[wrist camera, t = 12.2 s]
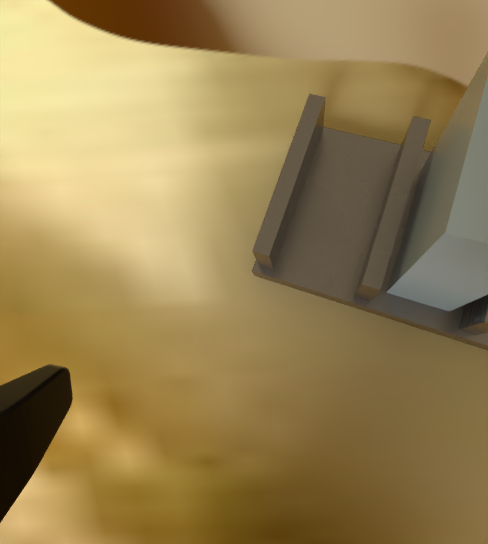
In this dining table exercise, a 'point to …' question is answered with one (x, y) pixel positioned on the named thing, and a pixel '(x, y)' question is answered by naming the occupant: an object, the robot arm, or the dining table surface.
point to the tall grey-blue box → (450, 212)
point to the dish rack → (352, 224)
